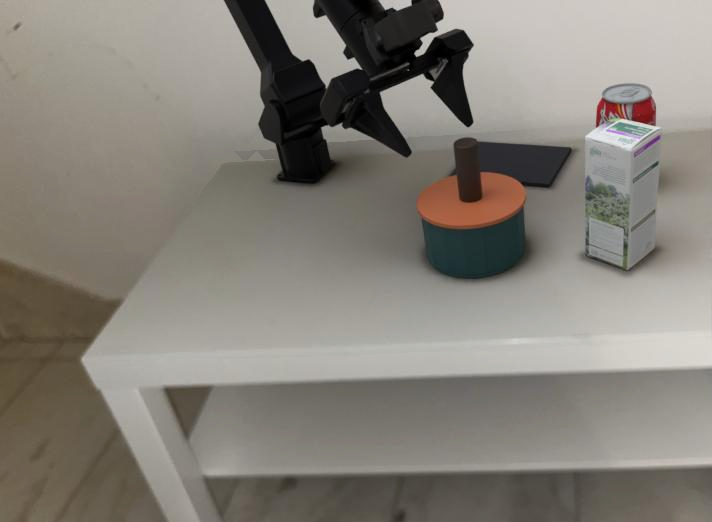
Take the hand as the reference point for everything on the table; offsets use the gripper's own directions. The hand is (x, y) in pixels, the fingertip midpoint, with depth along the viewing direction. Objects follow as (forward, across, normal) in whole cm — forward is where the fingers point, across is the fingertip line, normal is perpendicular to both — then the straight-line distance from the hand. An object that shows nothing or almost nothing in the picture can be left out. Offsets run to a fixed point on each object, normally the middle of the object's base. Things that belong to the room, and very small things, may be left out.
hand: (440, 139), depth 84 cm
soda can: (+15, +23, +4) cm, 27 cm away
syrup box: (+21, +10, -3) cm, 24 cm away
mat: (+3, +19, +15) cm, 24 cm away
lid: (+7, 0, +2) cm, 7 cm away
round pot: (+12, 0, +6) cm, 13 cm away
